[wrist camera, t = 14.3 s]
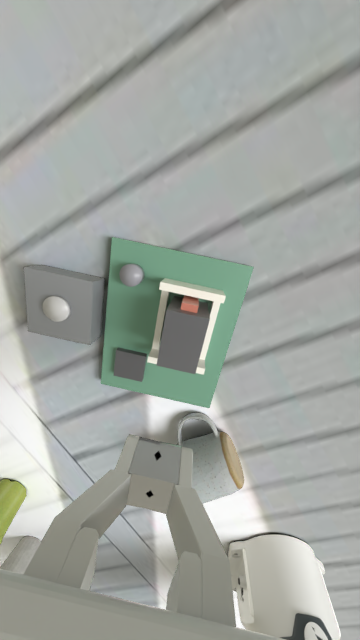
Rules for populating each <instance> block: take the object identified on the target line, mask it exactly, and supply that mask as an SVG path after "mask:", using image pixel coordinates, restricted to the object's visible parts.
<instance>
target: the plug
mask: <svg viewBox="0 0 360 640" xmlns="http://www.w3.org/2000/svg"><path fill="white" fill-rule="evenodd" d="M209 321H210V317H209V311H208V304H207V303H206V302H201V301H199V298H196V297H191V296H187V295H184V298H183V297H178V296H174V297H173V299H172V301H171V303H170V304H169V306H168V308H167V310H166V316H165V321H164V327H163V332H162V338H161V343H160V349H159V354H158V359H157V365H156V366H160V367H165V368H169V369H174V370H178V371H183V372H187V373H192V374H195V373H196V370H197V366H198V362H199V358H200V354H201V351H202V347H203V343H204V339H205V336H206V332H207V328H208V324H209Z"/></svg>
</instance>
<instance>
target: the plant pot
mask: <svg viewBox="0 0 360 640" xmlns="http://www.w3.org/2000/svg"><path fill="white" fill-rule="evenodd" d="M25 497H26V489H25V487H24V486H23V485H22V484H20V483H19V482H17V481H13V482H12V481H10V480H9V479H3V480H1V481H0V544H1V542H2V538H3V536H4V535H5V533H6V531H7V529H8V527H9V526H10V524H11V522H12V520H13V518H14V517H15V515H16V513H17V511H18V510H19V508H20V506H21V504H22V503H23V501H24V499H25Z"/></svg>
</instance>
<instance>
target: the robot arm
mask: <svg viewBox="0 0 360 640" xmlns="http://www.w3.org/2000/svg"><path fill="white" fill-rule="evenodd" d="M192 464H193V450H192V449H190V448H186V447H181V446H178V445H173V444H168V443H164V442H157V441H154V440H150V439H146V438H142V437H138V436H134V435H130V434H129V436H128V437H127V439H126V442H125V445H124V447H123V450H122V452H121V455H120V457H119V460H118V462H117V465H116V468H115V470H110V471H109V472H108V473H106V474H105V475H104V476H103V477H102V478H101V479H99V480H98V481H97V482H96V483H95V484H94V485H92V486H91V487H90V488H89V489H88V490H87V491H85V492H84V493H83V494H82V495H81V496H79V497H78V498H77V499H76V500H75V501H74V502H72V503H71V504H70V505H69V506H68V507H67V508H65V509H64V510H63V511H62V512H61V513H60V514H58V515H57V516H56V517H55V518H54V520H53V522H52V523H51V525H50V527H49V529H48V531H47V532H46V534H45V536H44V538H43V540H42V541H41V543H40V545H39V547H38V549H37V550H36V552H35V554H34V556H33V558H32V560H31V561H30V563H29V565H28V567H27V569H26V570H25V572H24V574H19V573H15V572H11V571H7V570H3V569H0V640H340V630H339V627H338V623H337V620H336V617H335V614H334V611H333V607H332V604H331V601H330V598H329V595H328V592H327V589H326V585H325V582H324V579H323V576H322V575H323V574H324V573H325V569H324V566H323V563H322V562H321V561H319V560H318V559H317V558H316V557H315V554H314V552H313V550H312V548H311V547H310V546H309V545H308V544H306V543H305V542H303V541H301V540H299V539H297V538H294V537H290V536H285V535H262V536H258V537H254V538H252V539H249V540H246V541H238V542H232V543H231V544H230V545H229V552H228V557H227V554H226V552H225V550H224V548H223V546H222V544H221V542H220V540H219V538H218V536H217V534H216V531H215V529H214V527H213V525H212V523H211V521H210V519H209V517H208V515H207V513H206V511H205V508H204V506H203V504H202V502H201V500H200V498H199V496H198V494H197V492H196V490H195V489H193V488H192ZM126 505H131V506H136V507H141V508H147V509H150V510H153V511H157V512H161V513H164V514H166V516H167V520H168V524H169V527H170V531H171V534H172V538H173V542H174V545H175V549H176V553H177V556H178V560H179V563H178V565H177V568H176V571H175V574H174V577H173V579H172V582H171V585H170V588H169V591H168V595H167V606H166V610H165V609H161V608H157V607H153V606H148V605H144V604H140V603H136V602H132V601H128V600H124V599H120V598H116V597H112V596H108V595H104V594H100V593H96V592H92V591H90V587H91V584H92V581H93V578H94V574H95V565H96V556H97V547H98V540H99V538H100V537H101V536H102V535H103V534H104V532H105V531H106V530H107V529H108V527H109V526H110V525H111V524H112V523H113V521H114V520H115V519H116V518H117V517H118V515H119V514H120V513H121V512H122V510H123V509H124V508H125V507H126ZM232 590H234V591H236V592H237V599H238V607H239V614H240V620H241V623H242V624H243V626H244V628H245V629H246V630H245V629H241V628H237V627H236V621H235V611H234V601H233V591H232Z"/></svg>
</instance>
